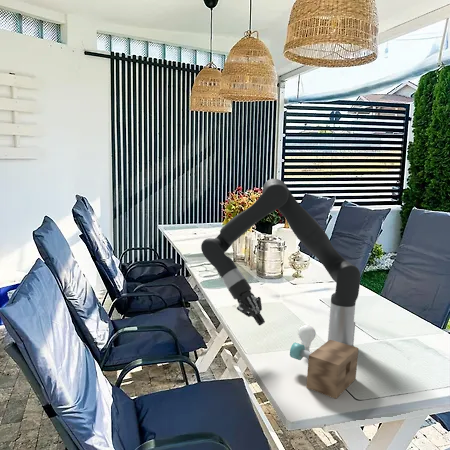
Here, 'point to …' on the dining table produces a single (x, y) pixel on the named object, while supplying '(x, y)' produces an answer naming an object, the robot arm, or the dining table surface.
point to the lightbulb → (306, 335)
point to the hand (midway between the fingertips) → (262, 323)
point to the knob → (299, 351)
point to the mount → (332, 368)
